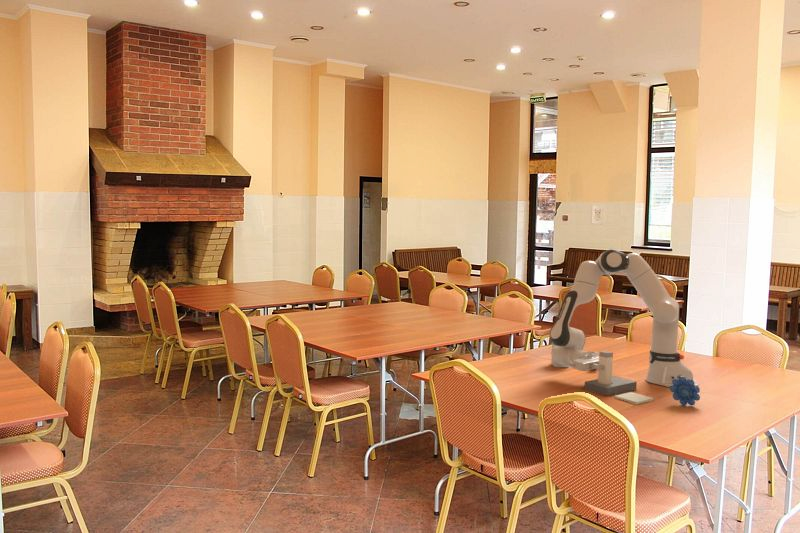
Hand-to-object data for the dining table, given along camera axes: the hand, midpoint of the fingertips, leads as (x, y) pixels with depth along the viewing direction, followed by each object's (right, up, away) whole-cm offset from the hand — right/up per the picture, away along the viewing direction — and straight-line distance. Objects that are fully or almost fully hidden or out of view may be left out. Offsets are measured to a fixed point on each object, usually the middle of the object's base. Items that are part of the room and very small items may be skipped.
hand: (607, 366), depth 295 cm
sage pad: (+8, -12, -11) cm, 18 cm away
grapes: (+26, -13, -19) cm, 34 cm away
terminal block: (+3, -11, +4) cm, 12 cm away
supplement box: (-10, -6, +46) cm, 48 cm away
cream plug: (-1, -9, +2) cm, 10 cm away
